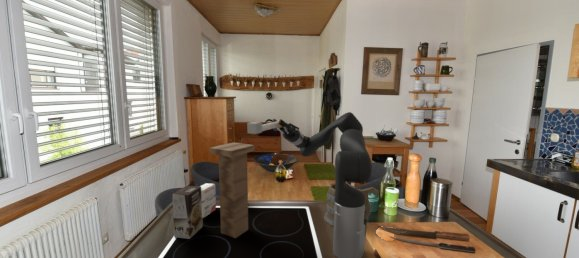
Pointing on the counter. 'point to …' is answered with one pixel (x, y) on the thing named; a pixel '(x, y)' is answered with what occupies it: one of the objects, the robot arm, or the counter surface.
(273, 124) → the hammer
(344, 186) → the robot arm
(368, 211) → the tankard
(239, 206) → the stand
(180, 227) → the coffee box
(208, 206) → the ink box
